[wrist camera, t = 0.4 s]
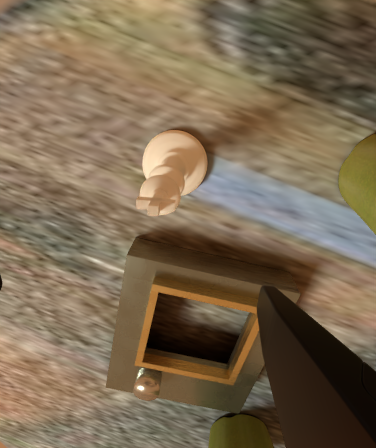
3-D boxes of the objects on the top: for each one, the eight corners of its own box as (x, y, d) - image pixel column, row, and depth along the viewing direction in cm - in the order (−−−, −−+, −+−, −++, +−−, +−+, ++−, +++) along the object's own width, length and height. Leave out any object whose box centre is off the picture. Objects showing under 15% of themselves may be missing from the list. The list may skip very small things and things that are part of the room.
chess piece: (143, 127, 19) (90, 144, 10) (210, 133, 19) (219, 156, 10) (142, 192, 21) (98, 256, 12) (203, 197, 21) (205, 266, 12)
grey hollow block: (289, 272, 24) (308, 308, 19) (235, 385, 30) (241, 431, 26) (135, 237, 23) (121, 266, 19) (114, 361, 29) (100, 403, 25)
